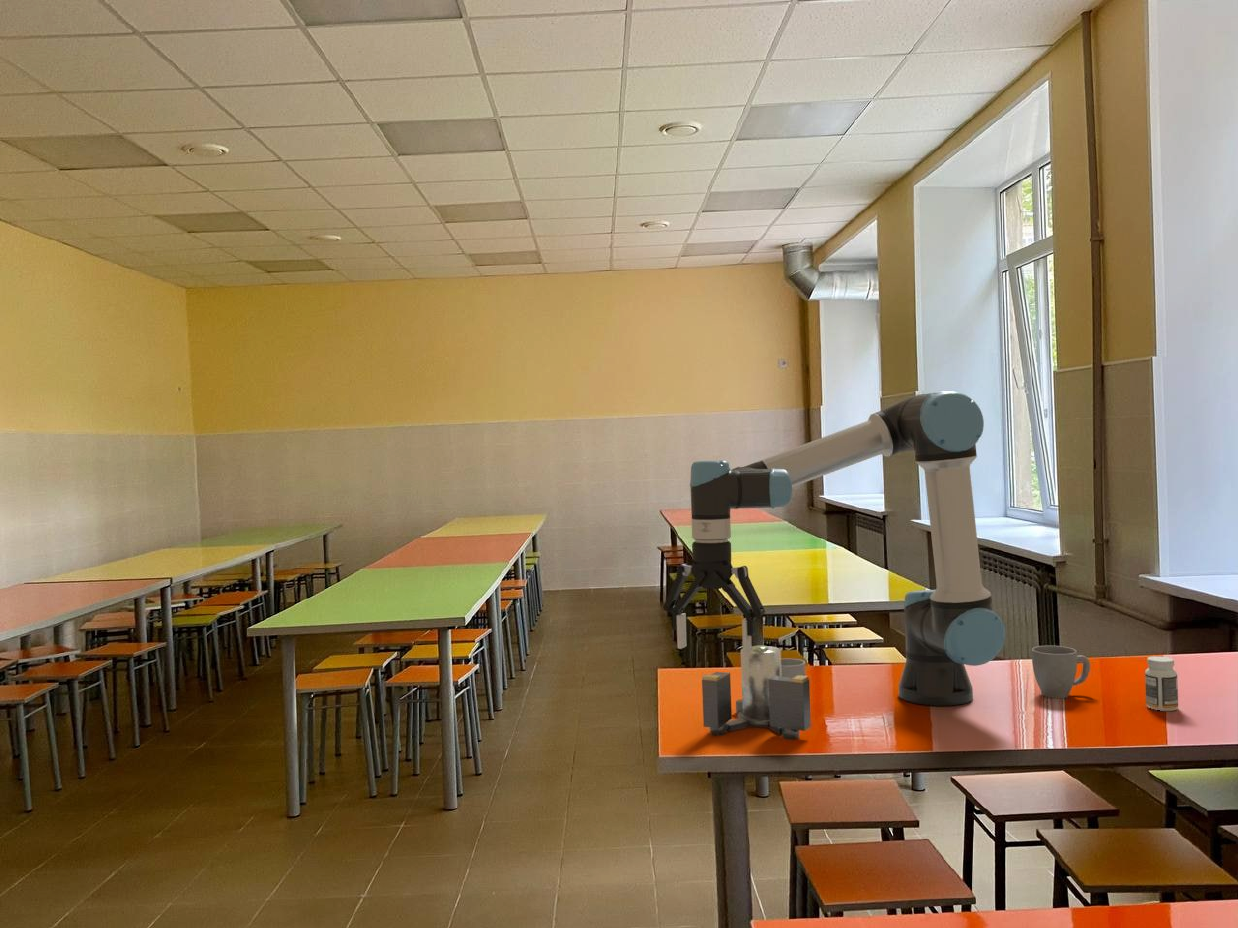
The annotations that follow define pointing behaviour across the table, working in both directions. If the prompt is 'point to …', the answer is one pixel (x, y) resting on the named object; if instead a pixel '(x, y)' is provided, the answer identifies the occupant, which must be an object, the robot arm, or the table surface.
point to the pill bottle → (1161, 684)
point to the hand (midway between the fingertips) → (714, 650)
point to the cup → (792, 667)
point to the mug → (1058, 669)
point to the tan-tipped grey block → (716, 702)
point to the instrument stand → (756, 688)
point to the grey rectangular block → (790, 704)
